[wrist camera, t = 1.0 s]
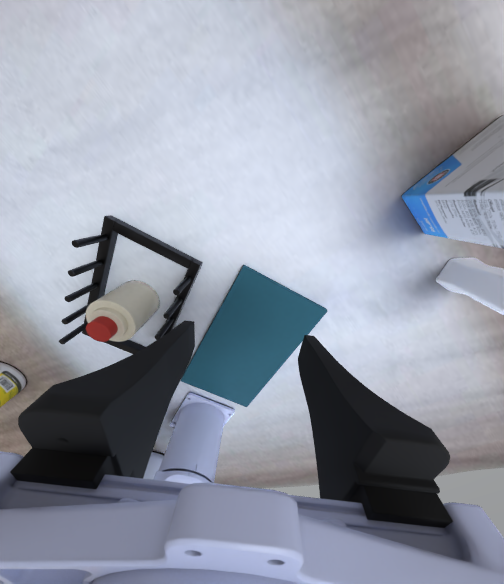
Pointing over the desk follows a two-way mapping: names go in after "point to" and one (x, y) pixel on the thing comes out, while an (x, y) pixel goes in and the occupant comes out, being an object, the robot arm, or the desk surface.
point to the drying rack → (102, 270)
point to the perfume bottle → (475, 281)
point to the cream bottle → (121, 312)
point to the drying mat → (251, 337)
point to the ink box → (465, 192)
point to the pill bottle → (10, 382)
